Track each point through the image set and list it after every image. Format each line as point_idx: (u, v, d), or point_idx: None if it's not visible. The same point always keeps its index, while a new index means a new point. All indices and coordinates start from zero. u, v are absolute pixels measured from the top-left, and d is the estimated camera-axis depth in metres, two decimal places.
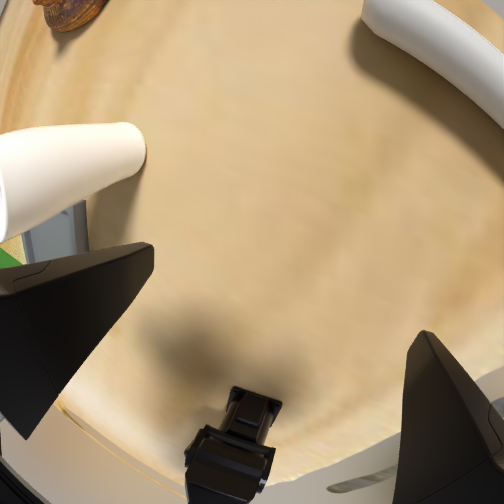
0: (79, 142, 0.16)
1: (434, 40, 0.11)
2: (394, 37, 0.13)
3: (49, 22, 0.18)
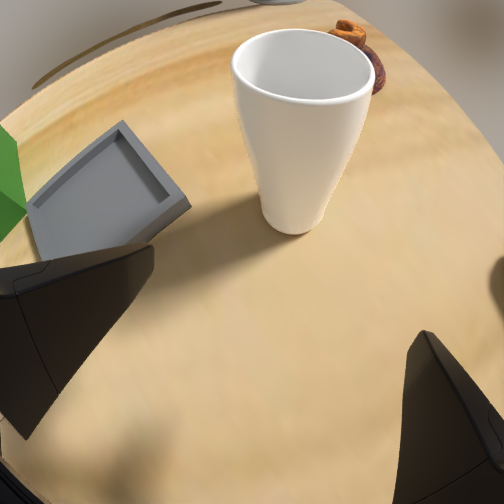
0: None
1: None
2: None
3: None
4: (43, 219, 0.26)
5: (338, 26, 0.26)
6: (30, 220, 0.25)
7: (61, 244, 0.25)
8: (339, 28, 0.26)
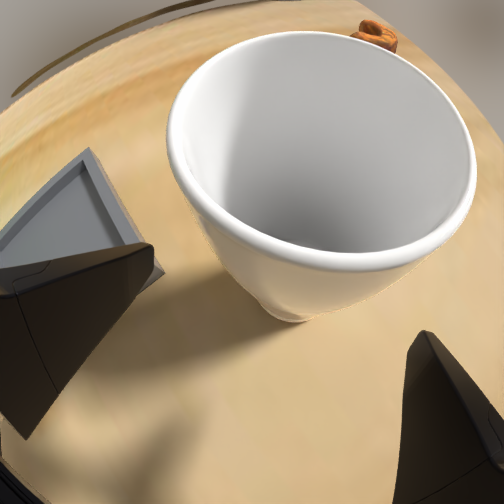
0: None
1: None
2: None
3: None
4: (5, 267, 0.21)
5: (362, 28, 0.20)
6: None
7: None
8: (363, 31, 0.20)
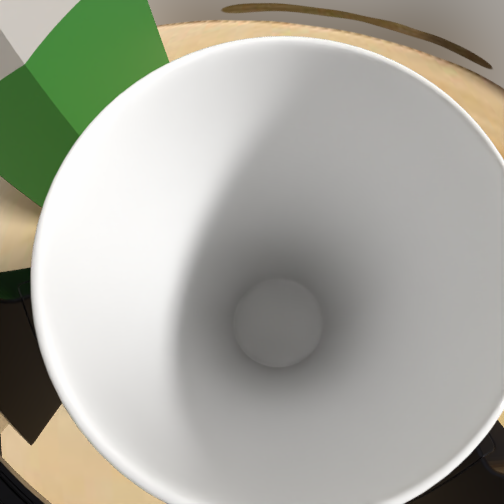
0: None
1: None
2: None
3: None
4: None
5: None
6: None
7: None
8: None
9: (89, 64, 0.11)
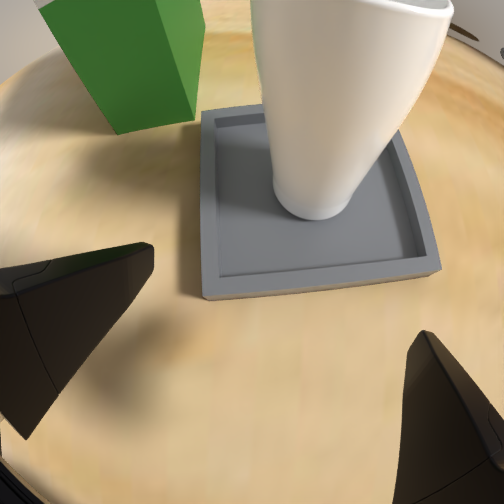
0: None
1: None
2: None
3: None
4: (220, 148, 0.21)
5: None
6: (203, 139, 0.20)
7: (238, 206, 0.20)
8: None
9: None
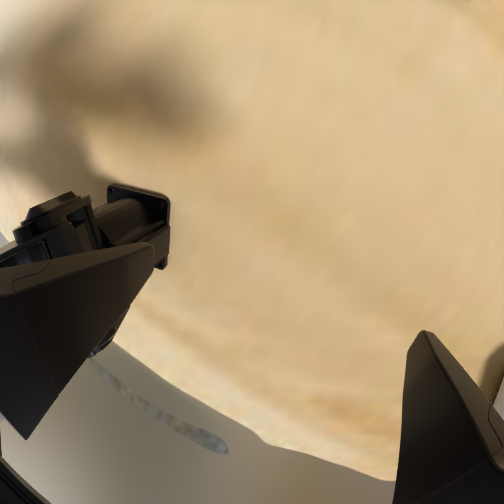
0: None
1: None
2: None
3: None
4: None
5: None
6: None
7: None
8: None
9: None
